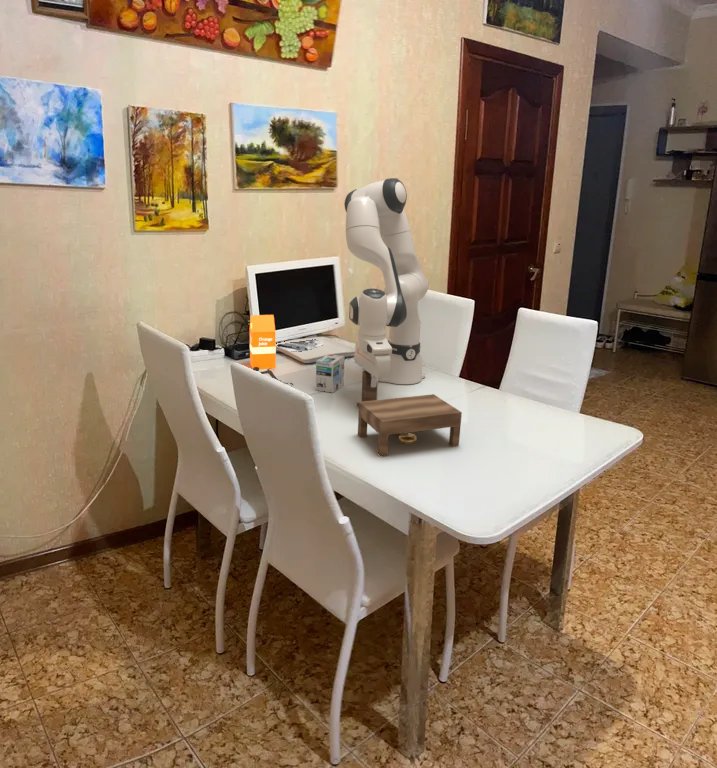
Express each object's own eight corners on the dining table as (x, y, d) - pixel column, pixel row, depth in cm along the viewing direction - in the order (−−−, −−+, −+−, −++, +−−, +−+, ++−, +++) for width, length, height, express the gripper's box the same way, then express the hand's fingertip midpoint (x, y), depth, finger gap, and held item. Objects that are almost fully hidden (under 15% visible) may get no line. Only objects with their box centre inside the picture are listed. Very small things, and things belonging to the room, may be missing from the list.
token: (395, 438, 182) (396, 434, 182) (411, 436, 184) (411, 432, 184) (403, 445, 178) (403, 440, 177) (419, 443, 180) (419, 438, 179)
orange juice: (249, 364, 248) (249, 313, 242) (272, 362, 251) (272, 312, 245) (252, 369, 241) (251, 317, 235) (275, 368, 244) (275, 316, 237)
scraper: (355, 405, 207) (356, 370, 203) (375, 403, 209) (376, 368, 206) (386, 433, 185) (388, 394, 181) (408, 430, 188) (410, 391, 184)
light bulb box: (333, 393, 218) (333, 363, 215) (315, 390, 220) (315, 360, 217) (344, 384, 227) (345, 355, 224) (327, 382, 230) (327, 353, 226)
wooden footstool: (357, 434, 183) (359, 401, 180) (431, 425, 192) (433, 394, 189) (380, 456, 169) (382, 421, 166) (458, 445, 178) (461, 412, 175)
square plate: (269, 351, 268) (269, 342, 267) (324, 343, 284) (324, 335, 283) (303, 367, 248) (303, 357, 246) (360, 358, 263) (360, 349, 262)
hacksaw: (252, 369, 242) (252, 366, 241) (279, 368, 245) (279, 364, 245) (265, 389, 220) (265, 385, 220) (294, 387, 224) (294, 383, 223)
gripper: (350, 334, 206) (348, 375, 211) (375, 351, 188) (373, 395, 193) (368, 333, 209) (366, 374, 213) (394, 349, 191) (392, 393, 195)
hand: (369, 384), depth 203 cm, fingers open, 3 cm apart
